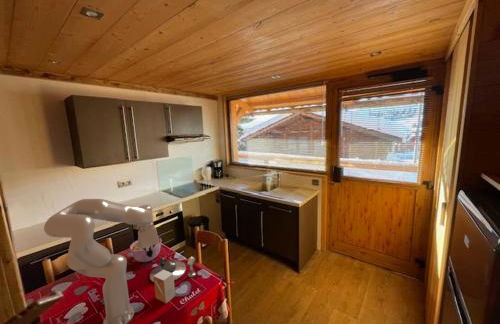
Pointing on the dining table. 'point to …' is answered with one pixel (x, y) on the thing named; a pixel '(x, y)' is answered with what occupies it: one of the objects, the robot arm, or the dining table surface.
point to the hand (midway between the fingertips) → (149, 256)
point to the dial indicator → (191, 266)
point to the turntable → (176, 274)
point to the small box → (164, 286)
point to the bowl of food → (141, 254)
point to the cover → (170, 265)
